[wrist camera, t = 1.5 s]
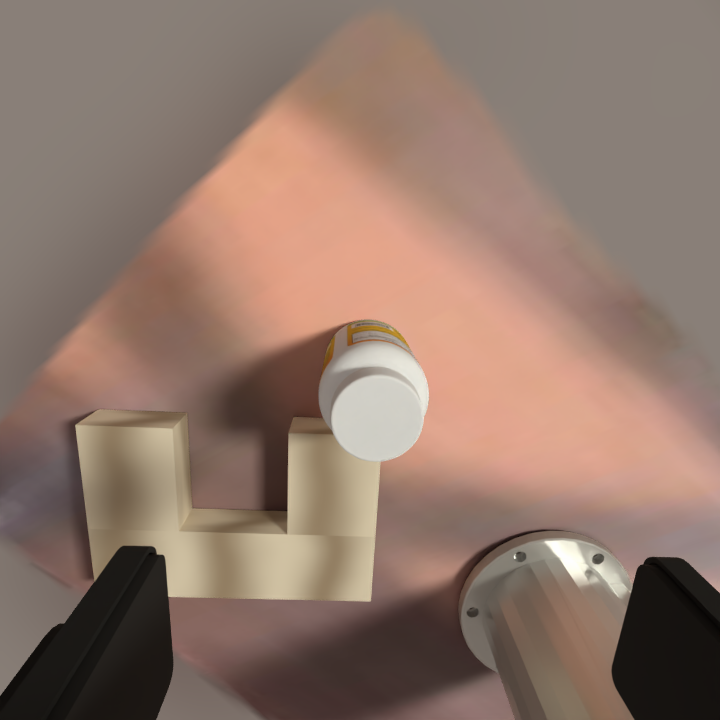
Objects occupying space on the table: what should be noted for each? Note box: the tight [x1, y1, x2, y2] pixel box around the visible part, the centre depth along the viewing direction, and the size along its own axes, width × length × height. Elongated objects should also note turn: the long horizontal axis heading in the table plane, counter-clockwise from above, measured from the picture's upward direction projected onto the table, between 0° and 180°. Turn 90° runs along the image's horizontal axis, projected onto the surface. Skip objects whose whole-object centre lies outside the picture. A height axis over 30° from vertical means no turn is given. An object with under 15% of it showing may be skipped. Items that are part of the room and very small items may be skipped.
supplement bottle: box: [319, 319, 429, 462], centre depth 23 cm, size 5×5×10 cm
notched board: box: [75, 409, 380, 601], centre depth 29 cm, size 18×12×2 cm, turn 87°
